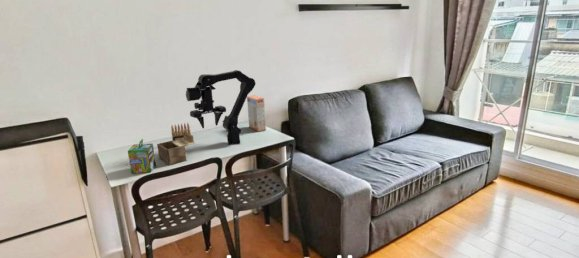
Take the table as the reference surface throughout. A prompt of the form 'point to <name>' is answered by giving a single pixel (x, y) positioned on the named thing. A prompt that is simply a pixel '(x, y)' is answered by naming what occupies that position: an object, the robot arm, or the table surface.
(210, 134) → the table surface
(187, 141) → the lid
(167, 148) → the walnut box
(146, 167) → the chalk box
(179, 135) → the ammunition clip
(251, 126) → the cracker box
